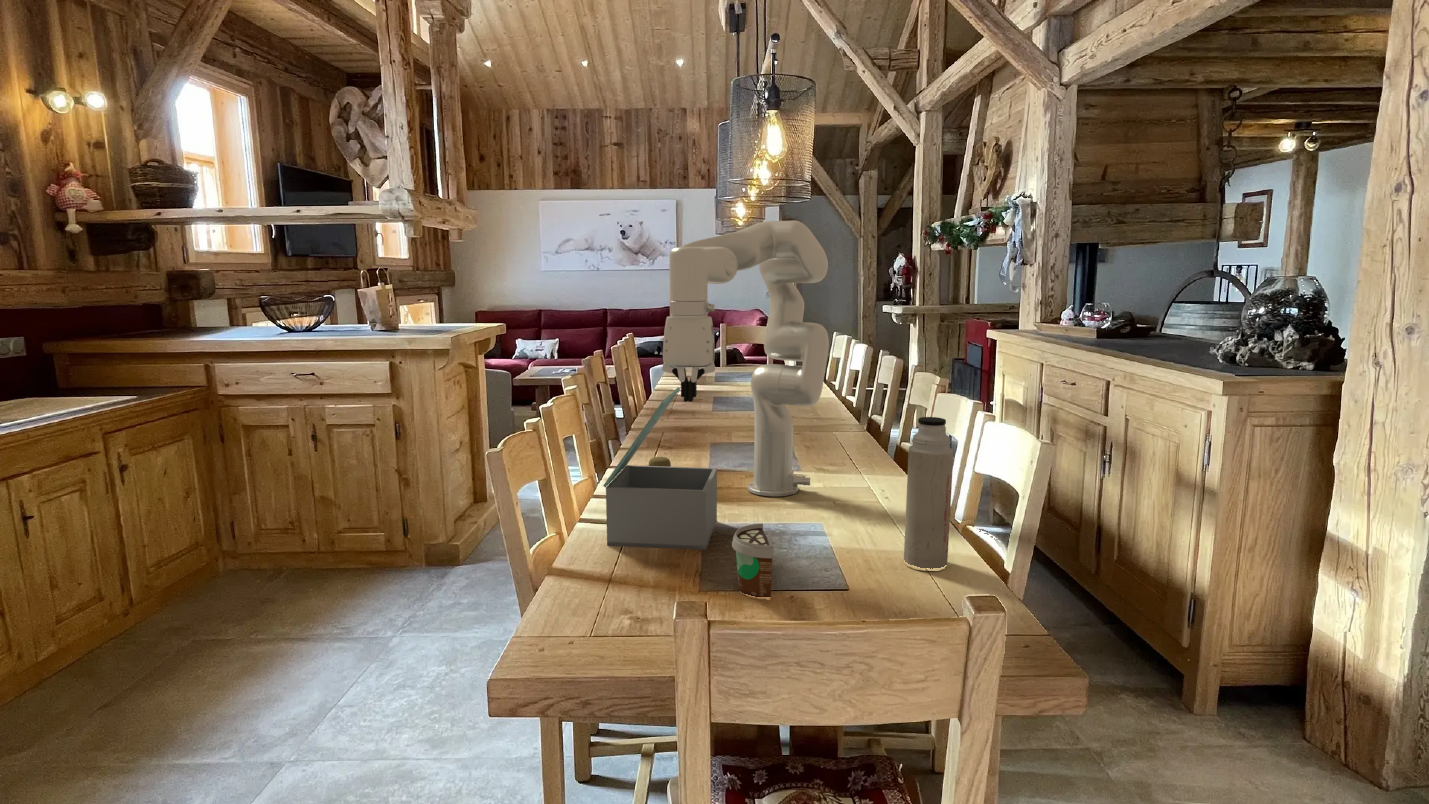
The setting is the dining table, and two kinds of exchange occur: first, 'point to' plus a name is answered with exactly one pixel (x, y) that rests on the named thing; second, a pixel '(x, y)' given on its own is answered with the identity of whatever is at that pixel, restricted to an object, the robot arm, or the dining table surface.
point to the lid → (642, 436)
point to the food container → (753, 560)
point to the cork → (659, 461)
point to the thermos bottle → (928, 495)
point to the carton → (662, 507)
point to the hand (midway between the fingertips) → (688, 400)
